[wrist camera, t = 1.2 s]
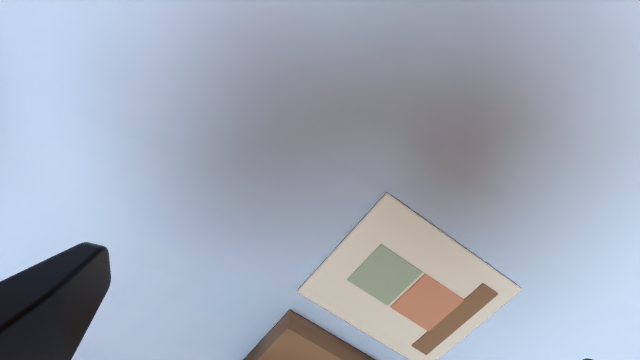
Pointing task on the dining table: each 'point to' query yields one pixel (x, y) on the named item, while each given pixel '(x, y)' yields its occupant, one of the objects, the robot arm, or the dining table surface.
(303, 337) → the walnut plate
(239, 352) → the dining table surface
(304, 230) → the dining table surface
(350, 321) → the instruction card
